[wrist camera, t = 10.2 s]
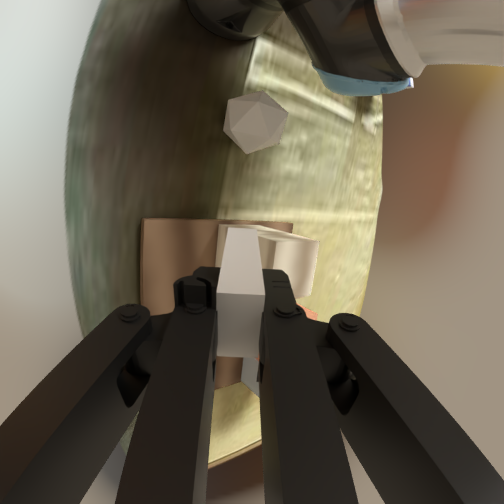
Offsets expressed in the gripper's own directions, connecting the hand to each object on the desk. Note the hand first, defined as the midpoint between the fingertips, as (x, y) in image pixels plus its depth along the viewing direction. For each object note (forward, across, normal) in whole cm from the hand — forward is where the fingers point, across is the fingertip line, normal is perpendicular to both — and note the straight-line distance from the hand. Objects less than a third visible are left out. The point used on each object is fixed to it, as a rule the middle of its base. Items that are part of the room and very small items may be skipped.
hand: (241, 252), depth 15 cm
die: (+28, -1, +8) cm, 30 cm away
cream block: (+24, 0, -9) cm, 26 cm away
